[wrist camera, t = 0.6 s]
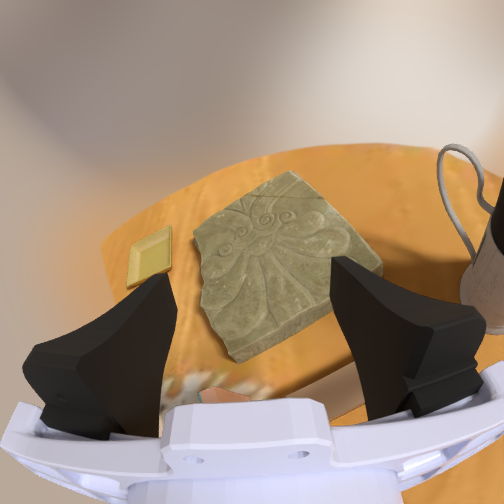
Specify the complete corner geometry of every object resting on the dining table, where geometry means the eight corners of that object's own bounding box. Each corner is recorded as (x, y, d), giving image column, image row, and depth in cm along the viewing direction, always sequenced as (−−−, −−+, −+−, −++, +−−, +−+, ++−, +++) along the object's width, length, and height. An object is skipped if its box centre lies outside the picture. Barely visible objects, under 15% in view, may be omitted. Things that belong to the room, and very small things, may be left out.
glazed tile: (276, 467, 21) (246, 478, 16) (261, 472, 21) (227, 482, 16) (249, 396, 26) (213, 386, 21) (235, 402, 26) (197, 392, 21)
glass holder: (501, 352, 17) (585, 275, 6) (406, 266, 27) (409, 149, 16) (537, 288, 18) (598, 189, 7) (448, 217, 27) (459, 102, 16)
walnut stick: (424, 366, 21) (431, 358, 18) (309, 430, 22) (300, 431, 20) (407, 337, 23) (411, 325, 21) (296, 399, 24) (285, 395, 22)
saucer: (138, 251, 47) (130, 244, 46) (178, 230, 45) (171, 223, 44) (134, 293, 42) (125, 287, 40) (179, 273, 40) (170, 266, 38)
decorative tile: (297, 180, 41) (290, 162, 39) (386, 276, 28) (386, 258, 25) (190, 248, 42) (176, 234, 40) (235, 370, 29) (219, 362, 26)
